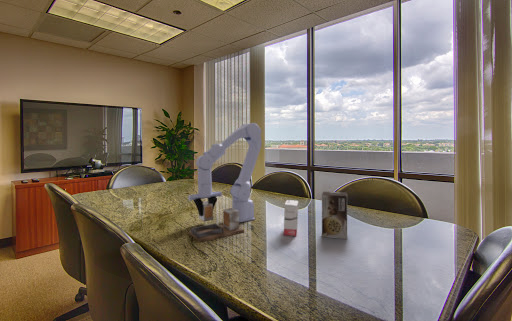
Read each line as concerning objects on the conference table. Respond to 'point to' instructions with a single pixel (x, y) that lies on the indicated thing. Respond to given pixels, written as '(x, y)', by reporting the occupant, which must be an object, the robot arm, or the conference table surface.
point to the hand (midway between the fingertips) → (205, 214)
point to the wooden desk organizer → (219, 227)
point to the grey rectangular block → (207, 211)
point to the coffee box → (334, 215)
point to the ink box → (291, 217)
